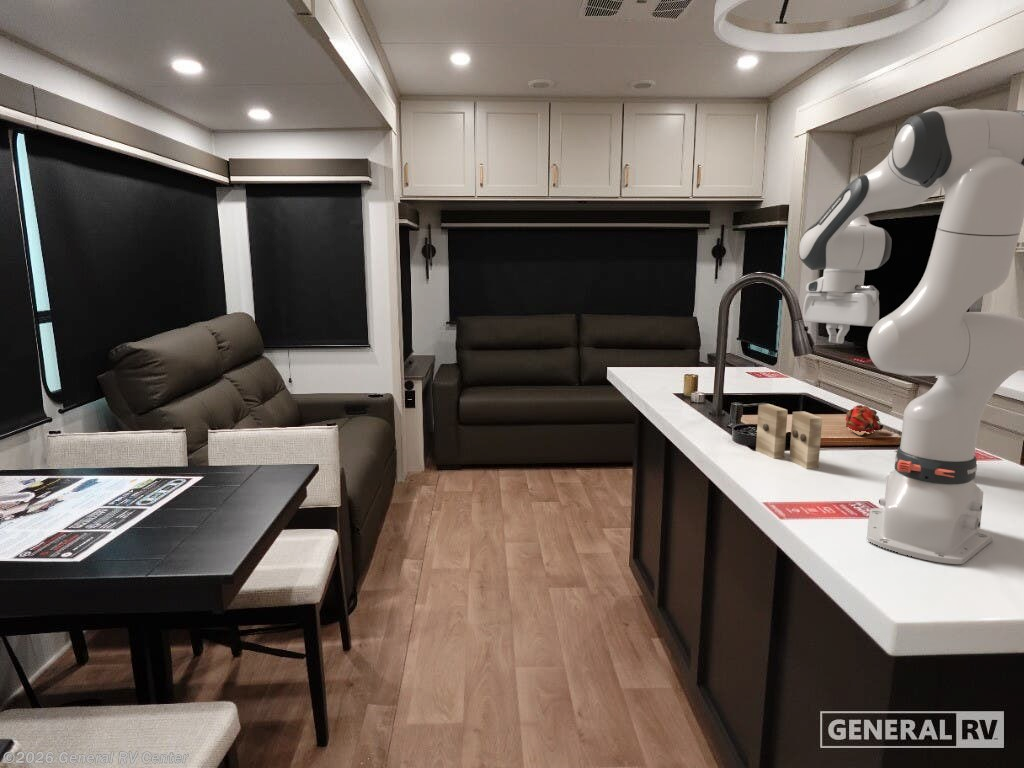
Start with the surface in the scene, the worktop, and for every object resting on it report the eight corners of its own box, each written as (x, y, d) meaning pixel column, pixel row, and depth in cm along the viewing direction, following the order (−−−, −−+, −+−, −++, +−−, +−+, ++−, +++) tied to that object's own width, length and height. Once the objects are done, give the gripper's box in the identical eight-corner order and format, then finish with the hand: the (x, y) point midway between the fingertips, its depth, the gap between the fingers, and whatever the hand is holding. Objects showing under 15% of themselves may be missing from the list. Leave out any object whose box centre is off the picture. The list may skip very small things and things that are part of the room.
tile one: (766, 449, 165) (769, 403, 163) (785, 457, 159) (788, 409, 157) (754, 450, 164) (757, 404, 162) (772, 458, 158) (775, 411, 156)
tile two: (801, 459, 157) (805, 411, 155) (819, 468, 150) (823, 418, 148) (788, 459, 157) (791, 411, 154) (805, 469, 150) (809, 418, 148)
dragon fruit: (856, 433, 185) (869, 451, 174) (832, 416, 185) (844, 432, 174) (879, 411, 182) (893, 428, 171) (854, 394, 181) (868, 409, 170)
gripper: (889, 286, 145) (882, 347, 147) (821, 285, 164) (815, 339, 166) (867, 284, 143) (860, 346, 145) (801, 284, 163) (795, 339, 165)
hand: (835, 343), depth 156 cm, fingers closed
